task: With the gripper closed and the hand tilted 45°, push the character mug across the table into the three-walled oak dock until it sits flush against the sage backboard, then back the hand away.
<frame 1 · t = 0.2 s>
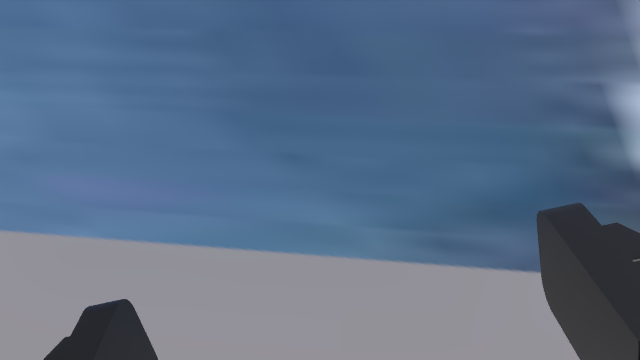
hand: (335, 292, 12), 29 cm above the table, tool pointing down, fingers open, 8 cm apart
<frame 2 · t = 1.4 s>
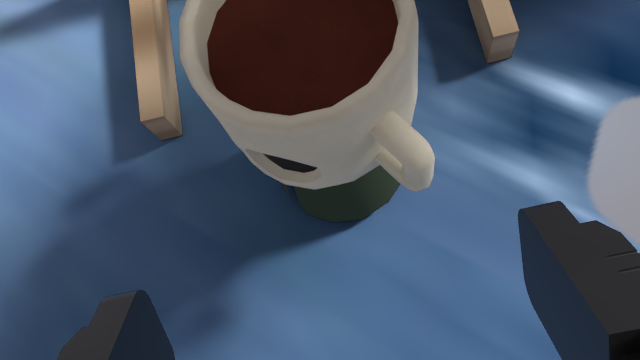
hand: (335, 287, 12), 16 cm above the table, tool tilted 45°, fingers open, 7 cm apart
oak dock: (314, 17, 32), on the table
character mug: (344, 164, 30), on the table
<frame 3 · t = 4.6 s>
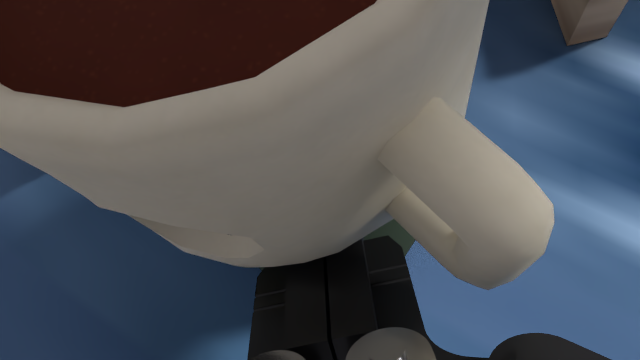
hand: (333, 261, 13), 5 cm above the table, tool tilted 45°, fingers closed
character mug: (329, 192, 18), on the table, touching gripper
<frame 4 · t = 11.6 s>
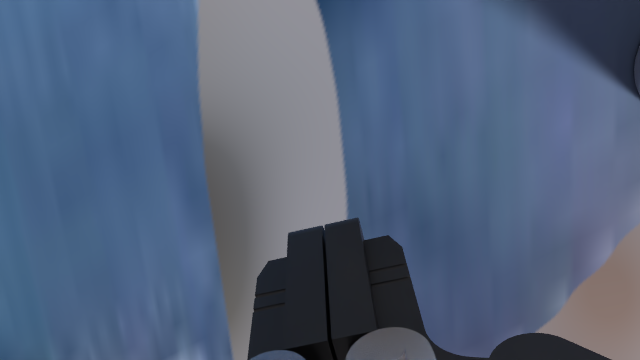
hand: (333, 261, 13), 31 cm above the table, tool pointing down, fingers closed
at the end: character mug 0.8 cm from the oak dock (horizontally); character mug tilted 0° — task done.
